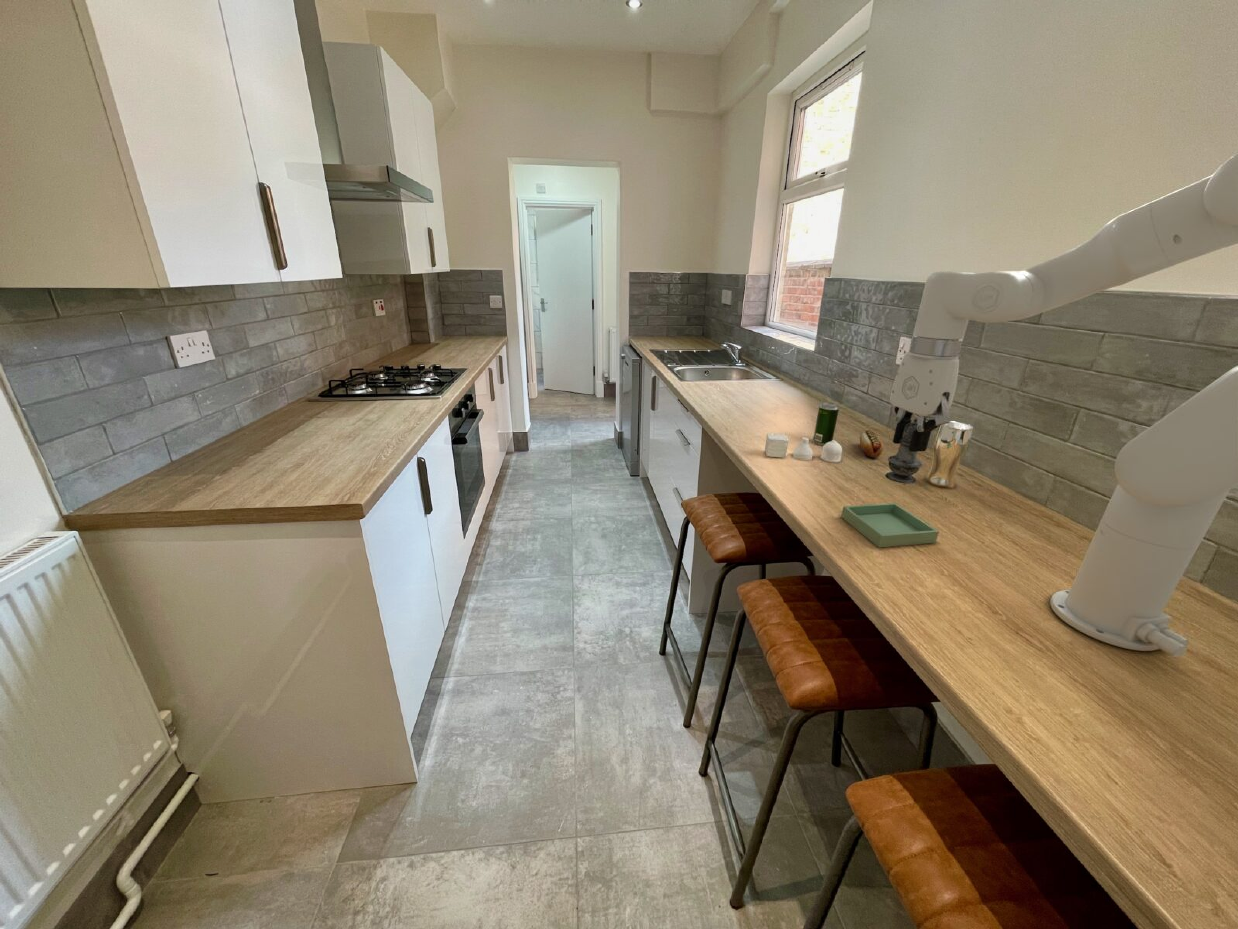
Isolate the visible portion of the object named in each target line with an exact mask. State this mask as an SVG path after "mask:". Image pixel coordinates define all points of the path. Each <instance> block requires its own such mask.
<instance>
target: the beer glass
mask: <svg viewBox="0 0 1238 929" xmlns="http://www.w3.org/2000/svg"><path fill="white" fill-rule="evenodd" d="M937 428H938V429H937V431H936V434H935V437H934V441H933V445H932V446H933V447H932V455H931V456H932V457H931V464H930V465H931V466H930V469H929V472H928V473H927V475H926V477H925V482H926V483H928V484H929V485H931V486H934V487H937V488H941V489H942V488H943V489H944V488H945V489H951V488H954V486H955V483H956V475H957V471H958V470H959V467H960V465H961V464H962V462H963V460H964V458H965V456H966V454H967V452H968V449H969V446H970V443H971V440H972V436H973V430H974V426H973V425H970V424H969V423H965V422H961V421H955V420H950V422H949V423H947V424H944V425H940V426H939V427H937Z"/></svg>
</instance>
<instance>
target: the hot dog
mask: <svg viewBox="0 0 1238 929" xmlns="http://www.w3.org/2000/svg"><path fill="white" fill-rule="evenodd" d="M859 444H860V445H859V446H860V449H861V451H862V452H863V453H864V454H865V455H866V456H867V457H870V458H878V457H880V456H881V454H882V452H883V450H884V442H883V441H882V440H881V437H880V436H879V435H878V434H877V433H876V432H873V431H872V430H866V431H863V432H861V433H860V435H859Z"/></svg>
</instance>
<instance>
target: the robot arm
mask: <svg viewBox="0 0 1238 929" xmlns="http://www.w3.org/2000/svg"><path fill="white" fill-rule="evenodd" d="M1237 244H1238V152H1237V153H1235V154H1233V155H1231V157H1229V158H1228V159H1227V160H1225V162H1223V163H1222V164H1221V165H1220V166H1219V167H1218V168H1217V169H1216V170H1215V171H1214V172H1213V173H1212V174H1211V175H1209V176H1207V177H1204V178H1202V179H1201V180H1198V181H1196V182H1193V183H1191V184H1189V185H1187V186H1184V187H1181V188H1180V189H1178V190H1175V191H1173V192H1170V193H1168V194H1166V195H1164V196H1161V197H1159V198H1157V199H1155V200H1153V201H1152V200H1151V201H1150V202H1147V203H1145V204H1143V205H1140V206H1139V207H1136V208H1134V209H1131V210H1129V211H1127V212H1124V213H1121V214H1120V215H1118V216H1116V217H1115V218H1113V219H1111V220H1109V222H1107V223H1106V224H1105V225H1103V227H1101V229H1099V230H1098V232H1097V233H1095V234H1094V235H1093V236H1092V237H1091V238H1089V239H1088V240H1086V241H1085V242H1083V243H1081V244H1080V245H1078V246H1076V247H1074V248H1072V249H1070V250H1068V251H1066V252H1064V253H1062V254H1060V255H1058V256H1055V257H1053V258H1051V259H1048V260H1045V261H1043V262H1040V263H1039V264H1036V265H1033V266H1031V267H1029V268H1026V269H1023V270H1000V271H988V272H987V271H986V272H979V273H974V272H970V271H936V272H932V273H931V274H929V276H928V277H927V278H926V280H925V283H924V287H923V291H922V295H921V300H920V305H919V308H918V312H917V315H916V320H915V323H914V324H915V325H914V329H913V333H912V337H911V339H910V345H909V349H908V351H906V352H905V354H904V355H903V357H902V359H901V361H900V364H899V367H898V369H897V373H896V374H895V377H894V381H893V385H892V388H891V391H890V395H889V403H890V404H891V406H892V407H893V409H894V413H895V415H896V416H895V422H896V426H895V430H894V434H893V438H892V443H893V444H895V445H896V444H897V445H898V444H899V445H900V442H899V440H900V439H902V436H903V432H904V429H905V426H906V425H907V424H909V423H912V422H913V420H914V418H915V415H916V416H918V418H917V423H918V425H917V430H914V431H913V434H912V438H911V442H910V446H909V451H911V452H917V453H918V452H926V451H927V449H928V445H929V442H930V438H931V434H932V432H935V431H936V429H937V428H939V426H940V425H944V424H947V423H949V422H950V421H951V414H950V410H951V407H952V404H953V402H954V398H955V394H956V389H957V384H958V380H959V379H958V377H959V369H960V359H959V357H960V353H961V349H962V345H963V342H964V339H965V335H966V331H967V328H968V325H969V322H970V321H974V322H979V323H985V324H996V323H1005V322H1014V321H1021V320H1025V319H1027V318H1031V317H1034V316H1036V315H1039V314H1042V313H1046V312H1048V311H1051V310H1054V309H1057V308H1060V307H1062V306H1066V305H1068V304H1071V303H1075V302H1077V301H1079V300H1082V299H1084V298H1087V297H1090V296H1093V295H1095V294H1098V293H1101V292H1104V291H1105V290H1109V289H1112V288H1116V287H1120V286H1123V285H1125V284H1127V283H1130V282H1132V281H1135V280H1138V279H1140V278H1143V277H1146V276H1149V275H1152V274H1154V273H1157V272H1160V271H1163V270H1165V269H1168V268H1171V267H1174V266H1176V265H1178V264H1181V263H1185V262H1188V261H1191V260H1193V259H1196V258H1198V257H1203V256H1204V255H1207V254H1211V253H1212V252H1216V251H1219V250H1221V249H1224V248H1228V247H1231V246H1234V245H1237ZM927 418H928V420H927ZM1114 475H1115V479H1116V481H1117V486H1116V487H1115V489H1114V491H1113V493H1112V495H1111V497H1110V499H1109V502H1108V504H1107V506H1106V508H1105V510H1104V512H1103V515H1102V517H1101V518H1100V521H1099V524H1098V526H1097V529H1096V531H1095V533H1094V534H1093V537H1092V539H1091V542H1090V544H1089V546H1088V548H1087V550H1086V553H1085V555H1084V557H1083V560H1082V562H1081V564H1080V566H1079V569H1078V570H1077V573H1076V576H1075V578H1074V579H1073V582H1072V584H1071V586H1070V589H1064V590H1063V589H1062V590H1059V591H1056V592H1054V593H1053V594H1052V595H1051V597H1050V600H1049V605H1050V607H1051V610H1052V611H1053V612H1054V613H1055V615H1057V616H1058V618H1059V619H1061V620H1062V621H1063V622H1064V623H1066V624H1067V625H1069V626H1070V627H1072V628H1074V629H1075V630H1077V631H1078V632H1080V633H1083V634H1084V635H1087V636H1088V637H1091V638H1093V639H1095V640H1097V641H1100V642H1103V643H1106V644H1109V645H1112V646H1115V647H1118V648H1122V649H1127V650H1133V651H1138V652H1139V651H1140V652H1152V651H1158V650H1162V651H1163V652H1164V653H1166V654H1168V655H1169V656H1171V657H1173V658H1175V659H1178V658H1181V657H1182V656H1184V655H1185V654H1186V653H1187V650H1188V647H1187V646H1188V645H1189V642H1190V640H1189V639H1188V638H1186V637H1185V636H1182V635H1180V634H1179V633H1176V632H1175V631H1173V630H1171V629H1170V627H1169V626H1168V625H1169V623H1170V621H1171V620H1172V616H1170V615H1168V614H1167V613H1165V612H1164V611H1165V609H1166V607H1167V605H1168V604H1169V601H1170V599H1171V597H1172V596H1173V594H1174V593H1175V590H1176V588H1177V587H1178V585H1179V583H1180V581H1181V579H1182V577H1183V575H1184V574H1185V572H1186V570H1187V568H1188V566H1189V565H1190V563H1191V561H1192V559H1193V557H1194V556H1195V553H1196V552H1197V549H1198V548H1199V547H1200V546H1201V543H1202V541H1203V539H1204V537H1205V536H1206V534H1207V532H1208V530H1209V529H1210V527H1211V525H1212V523H1213V521H1214V519H1215V518H1216V516H1217V515H1218V512H1219V510H1220V508H1221V507H1222V505H1223V503H1224V502H1225V500H1226V498H1227V496H1228V495H1229V493H1230V491H1231V490H1232V489H1234V488H1236V487H1238V365H1236V366H1234V367H1233V368H1231V369H1230V370H1227V371H1226V372H1225V373H1224V374H1222V375H1221V376H1219V377H1218V378H1217V379H1215V380H1214V381H1213V382H1211V383H1210V384H1209V385H1207V386H1205V387H1204V388H1203V389H1201V390H1200V391H1199V392H1197V393H1196V394H1195V395H1193V396H1192V397H1190V398H1188V399H1187V400H1186V401H1184V402H1183V403H1182V404H1180V405H1179V406H1178V407H1175V409H1173V410H1171V412H1169V413H1168V414H1166V415H1165V416H1164V417H1162V418H1161V419H1159V420H1158V421H1156V422H1155V423H1153V424H1152V425H1151V426H1149V427H1148V428H1146V429H1145V430H1144V431H1142V432H1141V433H1139V434H1138V435H1136V436H1135V437H1134V438H1132V439H1130V440H1129V441H1128V442H1127V443H1126V444H1125V445H1123V446H1122V448H1121V449H1120V451H1119V452H1118V454H1117V455H1116V458H1115V460H1114Z"/></svg>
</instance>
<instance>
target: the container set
mask: <svg viewBox="0 0 1238 929" xmlns="http://www.w3.org/2000/svg"><path fill="white" fill-rule="evenodd" d="M809 441H810V439H809V438H808V437H802V439H801V443H799V444H798V445H797V446H796V448H794V449H793V454H792V457H793V458H794V459H796V460H800V461H811V460H812V459H813V454H814V453H813V452H814V451H813V450H812V448H811V446H810V445H809V444H810V443H809ZM788 446H789V439H788V437H787V435H786V434H784V433H783V434H782V433H781V434H780V433H767V434H766V438H765V444H764V452H765V455H766V456H767V457H771V458H772V457H773V458H786V457H787V454H788V453H787V452H788ZM842 453H843V448H842V446H841V444H840V443H839V442H837V440H834V439H833V440H832V441H831V442H828V443H826V444H825V445H824V446H822V450H821V454H820V459H821V460H822V461H825V462H828V463H840V462H842V461H841V460H842Z"/></svg>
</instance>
